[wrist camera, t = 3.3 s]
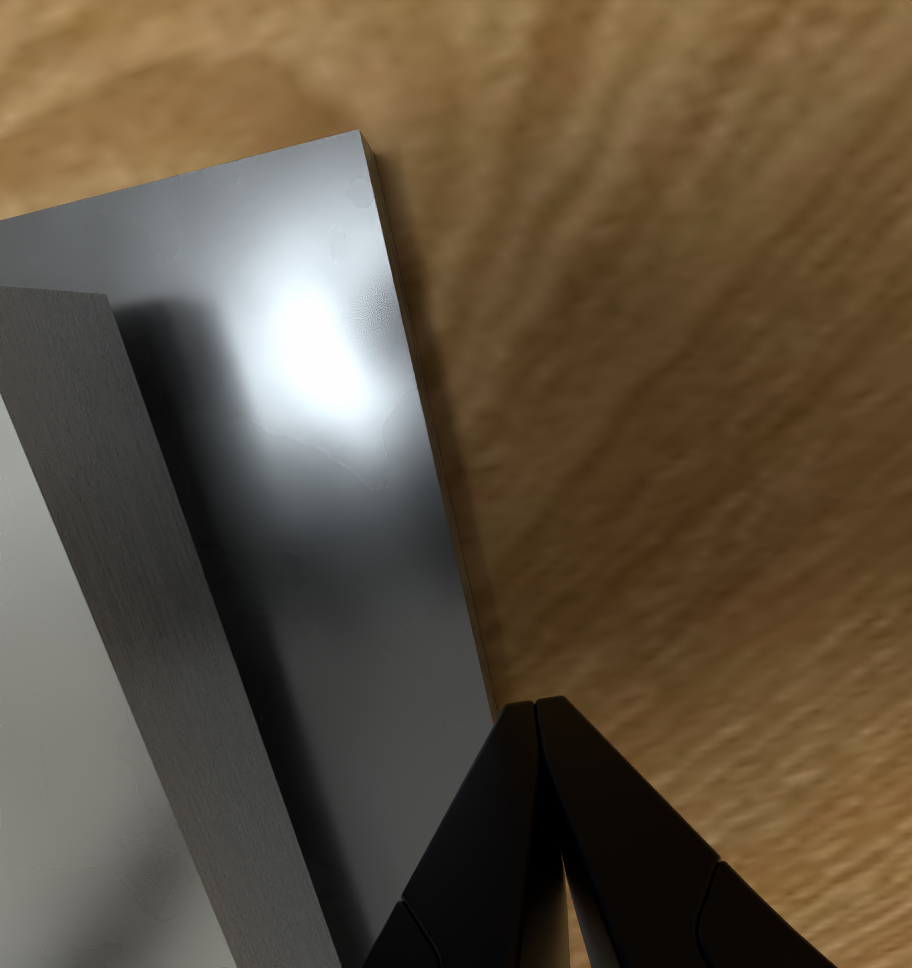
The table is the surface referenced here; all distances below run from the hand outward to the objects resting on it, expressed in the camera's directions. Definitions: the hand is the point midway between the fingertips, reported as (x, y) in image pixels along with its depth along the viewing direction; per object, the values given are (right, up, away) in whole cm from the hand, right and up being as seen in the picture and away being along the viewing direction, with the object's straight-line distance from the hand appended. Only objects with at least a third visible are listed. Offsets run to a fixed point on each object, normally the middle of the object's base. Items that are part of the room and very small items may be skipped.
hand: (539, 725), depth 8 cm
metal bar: (-6, -5, +3) cm, 8 cm away
